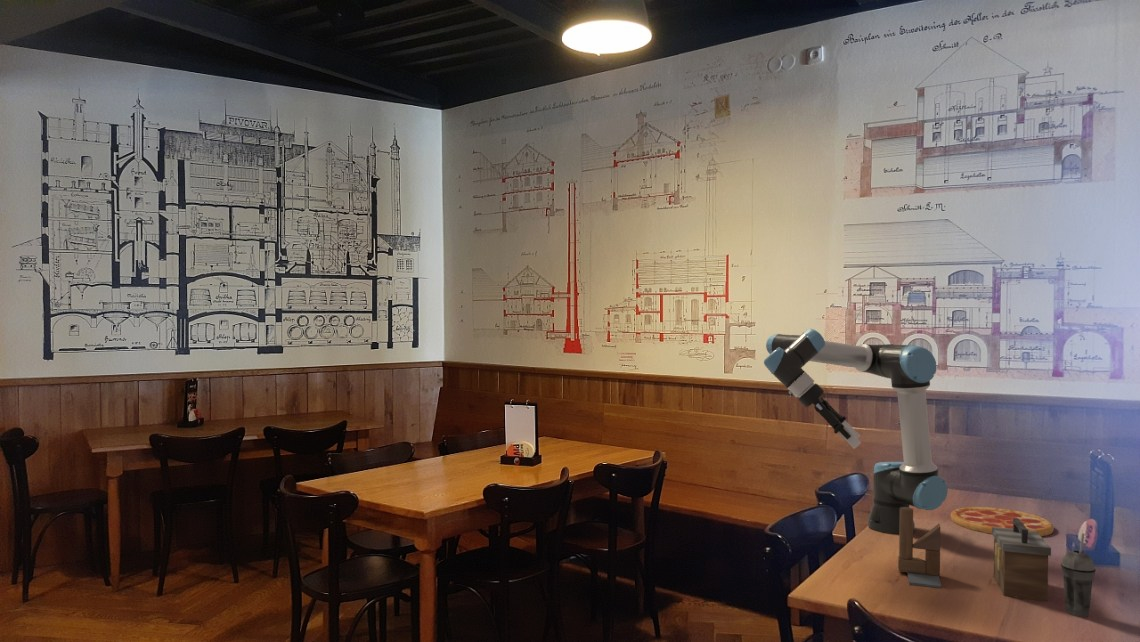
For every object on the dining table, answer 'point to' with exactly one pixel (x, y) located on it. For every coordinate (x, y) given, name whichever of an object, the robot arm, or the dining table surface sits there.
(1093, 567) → the beverage cup
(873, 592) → the dining table surface
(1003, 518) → the pizza
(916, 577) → the mat
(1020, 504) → the dining table surface
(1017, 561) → the toolbox
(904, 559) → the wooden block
